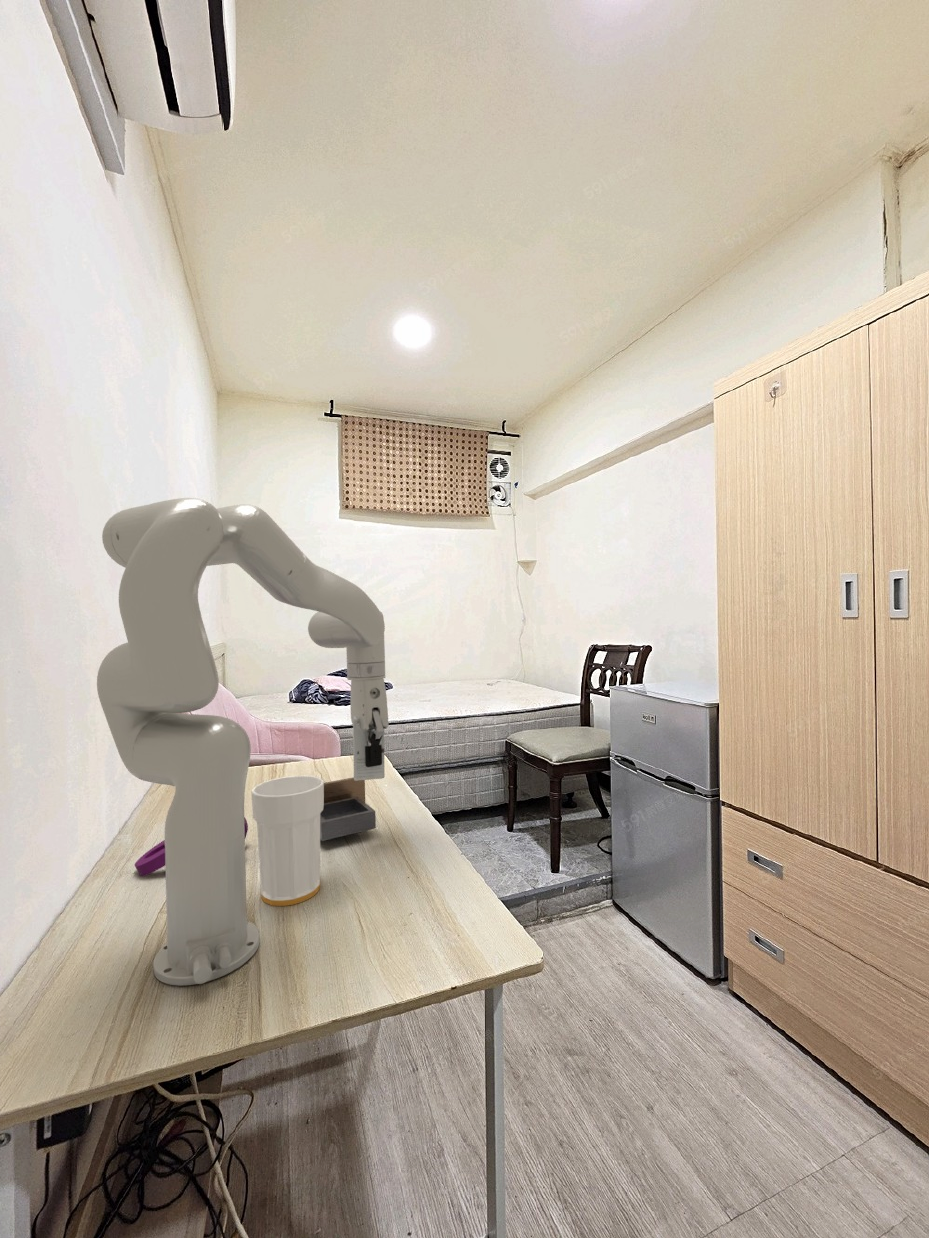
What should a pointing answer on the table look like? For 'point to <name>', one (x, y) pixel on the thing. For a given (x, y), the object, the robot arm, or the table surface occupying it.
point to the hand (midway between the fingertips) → (368, 761)
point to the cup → (289, 837)
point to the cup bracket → (345, 809)
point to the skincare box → (359, 755)
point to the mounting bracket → (158, 857)
